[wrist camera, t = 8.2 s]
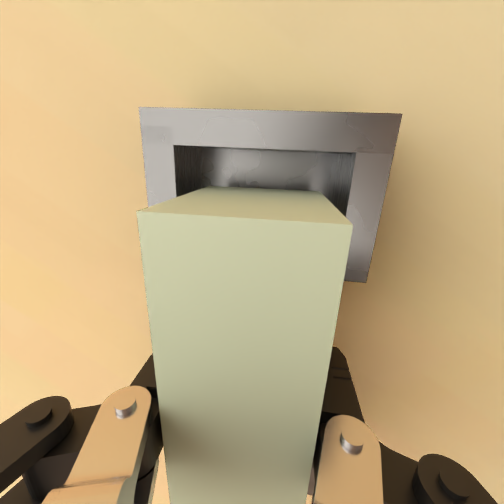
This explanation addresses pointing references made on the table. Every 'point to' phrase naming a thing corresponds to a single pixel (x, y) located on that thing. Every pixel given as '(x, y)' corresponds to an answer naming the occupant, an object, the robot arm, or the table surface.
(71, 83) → the table surface
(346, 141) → the end cap
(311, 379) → the slat
